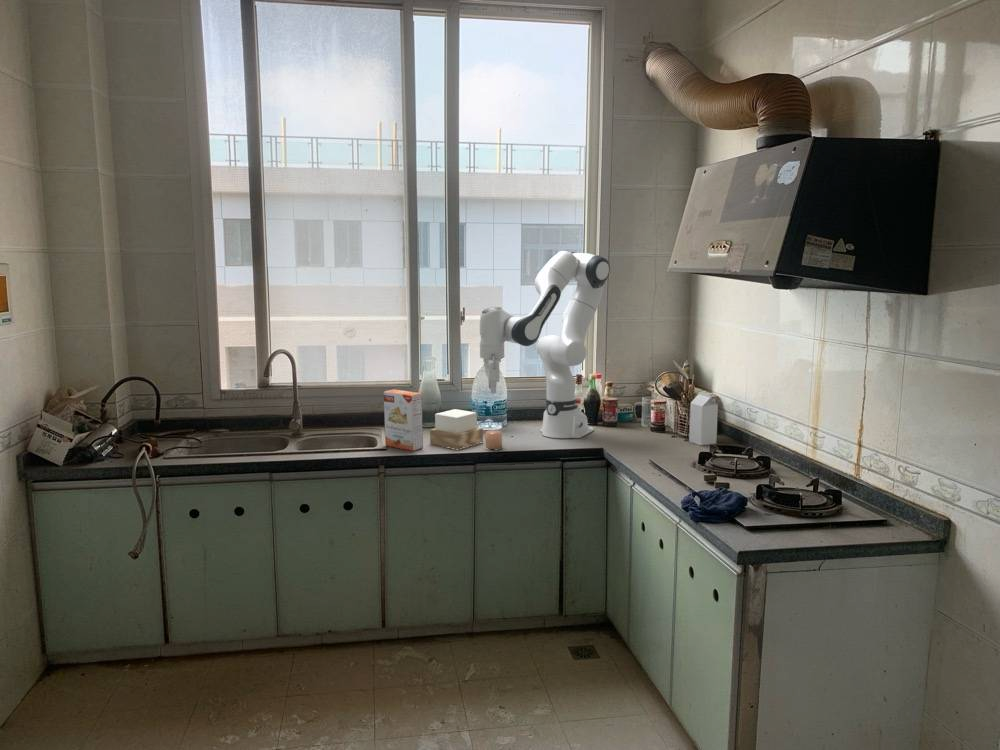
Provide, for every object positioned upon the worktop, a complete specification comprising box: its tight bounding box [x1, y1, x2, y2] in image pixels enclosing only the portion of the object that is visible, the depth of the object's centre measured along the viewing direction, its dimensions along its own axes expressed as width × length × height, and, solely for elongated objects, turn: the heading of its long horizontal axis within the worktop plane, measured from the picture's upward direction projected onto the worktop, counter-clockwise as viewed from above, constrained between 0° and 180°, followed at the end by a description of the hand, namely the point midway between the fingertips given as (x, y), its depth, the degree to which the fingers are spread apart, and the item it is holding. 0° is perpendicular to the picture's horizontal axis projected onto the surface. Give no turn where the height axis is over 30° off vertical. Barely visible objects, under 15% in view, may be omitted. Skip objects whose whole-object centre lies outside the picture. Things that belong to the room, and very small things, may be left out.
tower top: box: [434, 408, 478, 434], centre depth 277 cm, size 11×11×6 cm
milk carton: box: [688, 391, 719, 446], centre depth 276 cm, size 7×7×19 cm
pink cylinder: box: [485, 429, 503, 450], centre depth 271 cm, size 6×6×6 cm
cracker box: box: [383, 389, 424, 452], centre depth 272 cm, size 14×6×21 cm, turn 54°
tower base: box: [429, 426, 484, 450], centre depth 278 cm, size 14×14×6 cm
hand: (492, 390), depth 268 cm, fingers open, 8 cm apart
